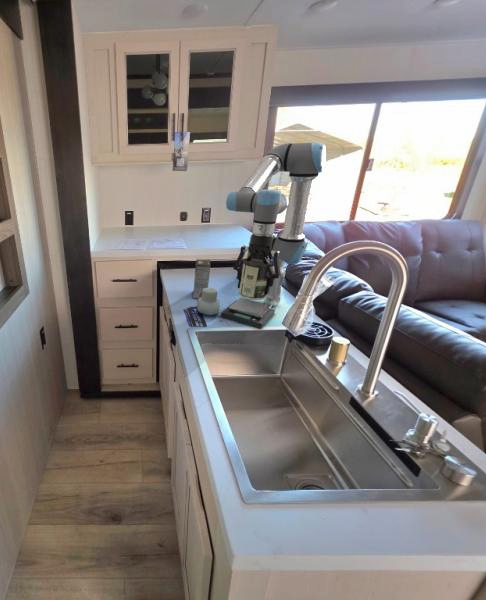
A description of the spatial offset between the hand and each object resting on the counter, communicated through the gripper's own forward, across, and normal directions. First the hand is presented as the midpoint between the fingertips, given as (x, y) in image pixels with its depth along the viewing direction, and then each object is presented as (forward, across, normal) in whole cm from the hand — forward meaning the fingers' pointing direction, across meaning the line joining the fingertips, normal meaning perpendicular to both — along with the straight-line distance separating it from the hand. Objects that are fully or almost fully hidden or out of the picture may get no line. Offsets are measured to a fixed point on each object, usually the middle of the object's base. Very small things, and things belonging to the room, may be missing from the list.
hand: (252, 290), depth 124 cm
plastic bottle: (+11, +4, +16) cm, 19 cm away
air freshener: (+11, -14, -9) cm, 20 cm away
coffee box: (+11, -25, +6) cm, 28 cm away
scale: (+11, 0, -1) cm, 11 cm away
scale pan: (+8, 0, 0) cm, 8 cm away
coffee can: (+2, 0, 0) cm, 2 cm away
